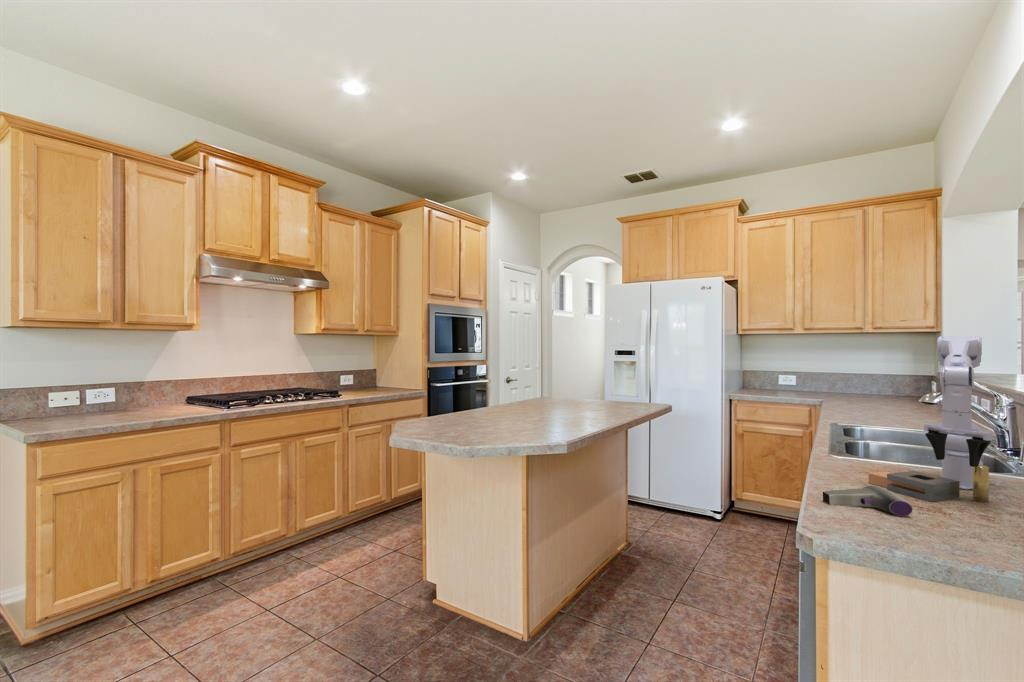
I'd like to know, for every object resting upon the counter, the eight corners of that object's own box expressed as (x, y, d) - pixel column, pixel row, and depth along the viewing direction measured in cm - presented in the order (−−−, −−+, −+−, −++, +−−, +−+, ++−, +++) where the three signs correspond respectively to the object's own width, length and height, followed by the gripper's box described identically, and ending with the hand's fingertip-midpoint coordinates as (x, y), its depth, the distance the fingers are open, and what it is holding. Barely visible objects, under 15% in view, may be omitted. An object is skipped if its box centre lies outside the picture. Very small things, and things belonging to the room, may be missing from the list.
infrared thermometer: (821, 504, 128) (882, 502, 126) (848, 520, 116) (916, 518, 114) (819, 486, 128) (880, 484, 126) (846, 501, 116) (914, 499, 114)
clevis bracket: (913, 486, 140) (914, 470, 140) (959, 498, 129) (959, 481, 129) (886, 489, 136) (886, 473, 136) (931, 502, 126) (931, 484, 126)
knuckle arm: (885, 481, 145) (885, 471, 145) (946, 496, 131) (946, 485, 131) (868, 483, 143) (868, 473, 143) (928, 499, 128) (928, 488, 128)
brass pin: (977, 498, 129) (977, 464, 129) (991, 501, 127) (991, 467, 127) (970, 499, 128) (970, 465, 129) (984, 502, 126) (984, 467, 126)
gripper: (916, 408, 135) (916, 457, 135) (979, 416, 121) (979, 470, 121) (933, 407, 137) (933, 455, 137) (998, 414, 123) (998, 468, 123)
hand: (956, 462), depth 129 cm, fingers open, 7 cm apart
